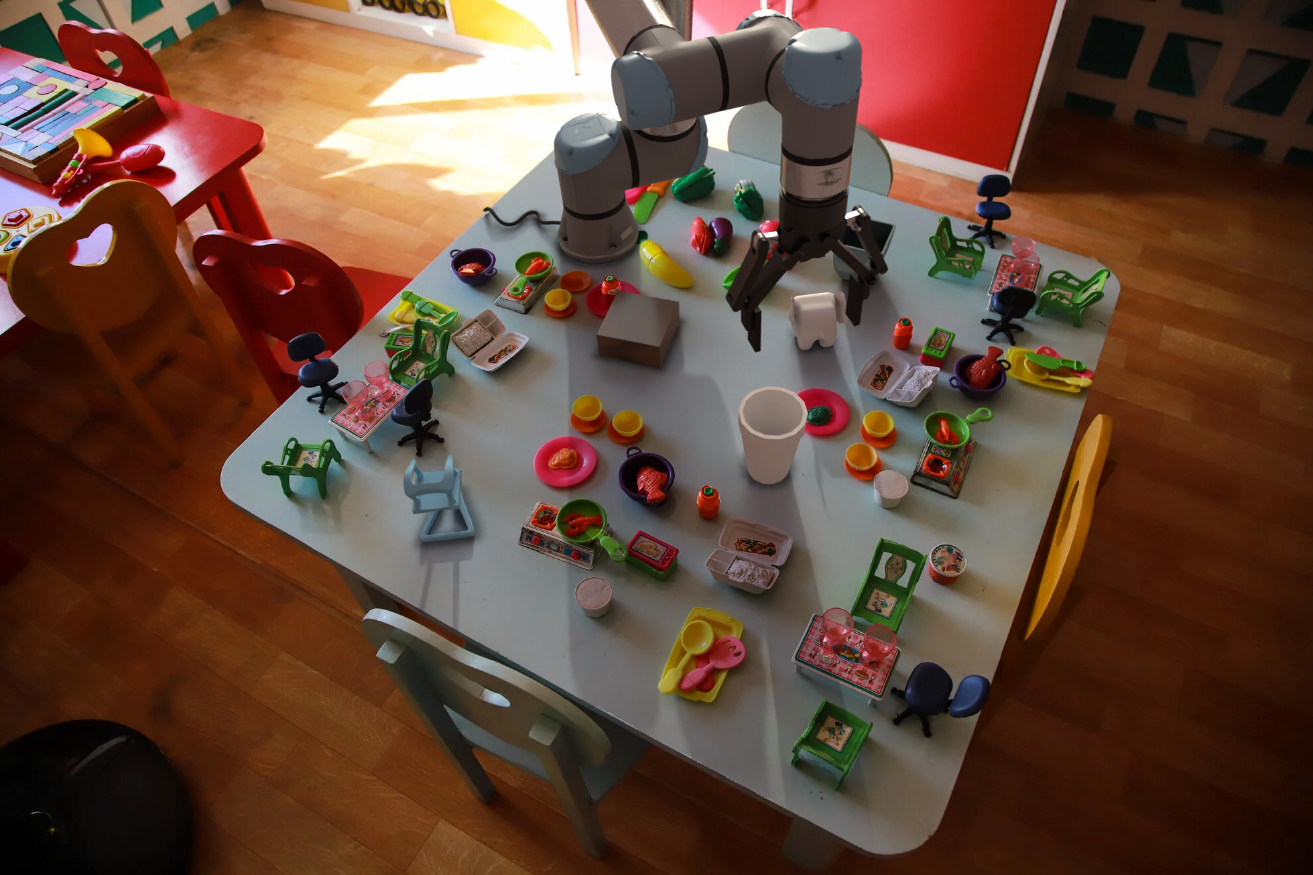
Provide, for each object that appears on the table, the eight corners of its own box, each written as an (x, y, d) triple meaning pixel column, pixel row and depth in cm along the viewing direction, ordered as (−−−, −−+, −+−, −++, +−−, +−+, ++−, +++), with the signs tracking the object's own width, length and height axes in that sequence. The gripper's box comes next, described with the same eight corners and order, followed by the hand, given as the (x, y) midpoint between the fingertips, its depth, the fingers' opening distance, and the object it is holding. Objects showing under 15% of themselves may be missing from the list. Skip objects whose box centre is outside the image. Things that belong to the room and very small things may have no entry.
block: (599, 355, 139) (596, 334, 135) (620, 311, 145) (617, 290, 141) (661, 367, 137) (659, 347, 133) (679, 322, 143) (679, 301, 139)
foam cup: (799, 443, 125) (807, 388, 115) (800, 494, 120) (808, 440, 110) (737, 440, 126) (739, 385, 116) (734, 490, 121) (737, 437, 111)
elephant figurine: (830, 306, 143) (836, 267, 136) (848, 355, 136) (856, 317, 129) (776, 312, 143) (780, 273, 136) (791, 363, 136) (796, 324, 129)
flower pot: (841, 252, 152) (847, 212, 144) (888, 264, 149) (897, 224, 142) (826, 282, 147) (832, 243, 140) (874, 295, 144) (883, 255, 137)
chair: (476, 489, 123) (456, 441, 114) (474, 536, 118) (454, 490, 109) (425, 495, 123) (401, 447, 114) (421, 543, 118) (395, 497, 109)
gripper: (718, 228, 86) (722, 375, 101) (935, 176, 89) (906, 326, 105) (695, 192, 91) (702, 338, 106) (902, 144, 94) (879, 292, 110)
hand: (803, 332), depth 106 cm, fingers open, 13 cm apart
